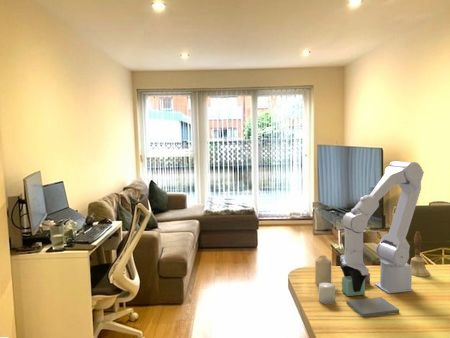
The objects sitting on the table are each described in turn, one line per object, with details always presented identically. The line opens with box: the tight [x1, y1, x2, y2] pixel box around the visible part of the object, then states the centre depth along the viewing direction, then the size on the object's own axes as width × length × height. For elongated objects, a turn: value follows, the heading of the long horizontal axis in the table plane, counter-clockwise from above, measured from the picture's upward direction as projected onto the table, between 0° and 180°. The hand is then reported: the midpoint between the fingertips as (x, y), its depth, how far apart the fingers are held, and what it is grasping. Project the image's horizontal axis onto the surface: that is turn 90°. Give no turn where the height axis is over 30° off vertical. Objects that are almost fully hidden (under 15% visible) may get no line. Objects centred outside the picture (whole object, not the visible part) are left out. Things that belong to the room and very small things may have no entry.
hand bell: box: [409, 231, 430, 277], centre depth 140 cm, size 8×8×16 cm
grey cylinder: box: [318, 282, 336, 305], centre depth 118 cm, size 5×5×5 cm
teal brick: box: [341, 276, 366, 297], centre depth 123 cm, size 6×4×5 cm, turn 101°
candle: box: [314, 255, 332, 286], centre depth 131 cm, size 6×6×10 cm
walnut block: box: [365, 272, 371, 286], centre depth 132 cm, size 5×5×4 cm
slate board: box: [346, 296, 400, 318], centre depth 112 cm, size 12×9×1 cm
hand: (353, 288), depth 123 cm, fingers closed on teal brick, 4 cm apart
